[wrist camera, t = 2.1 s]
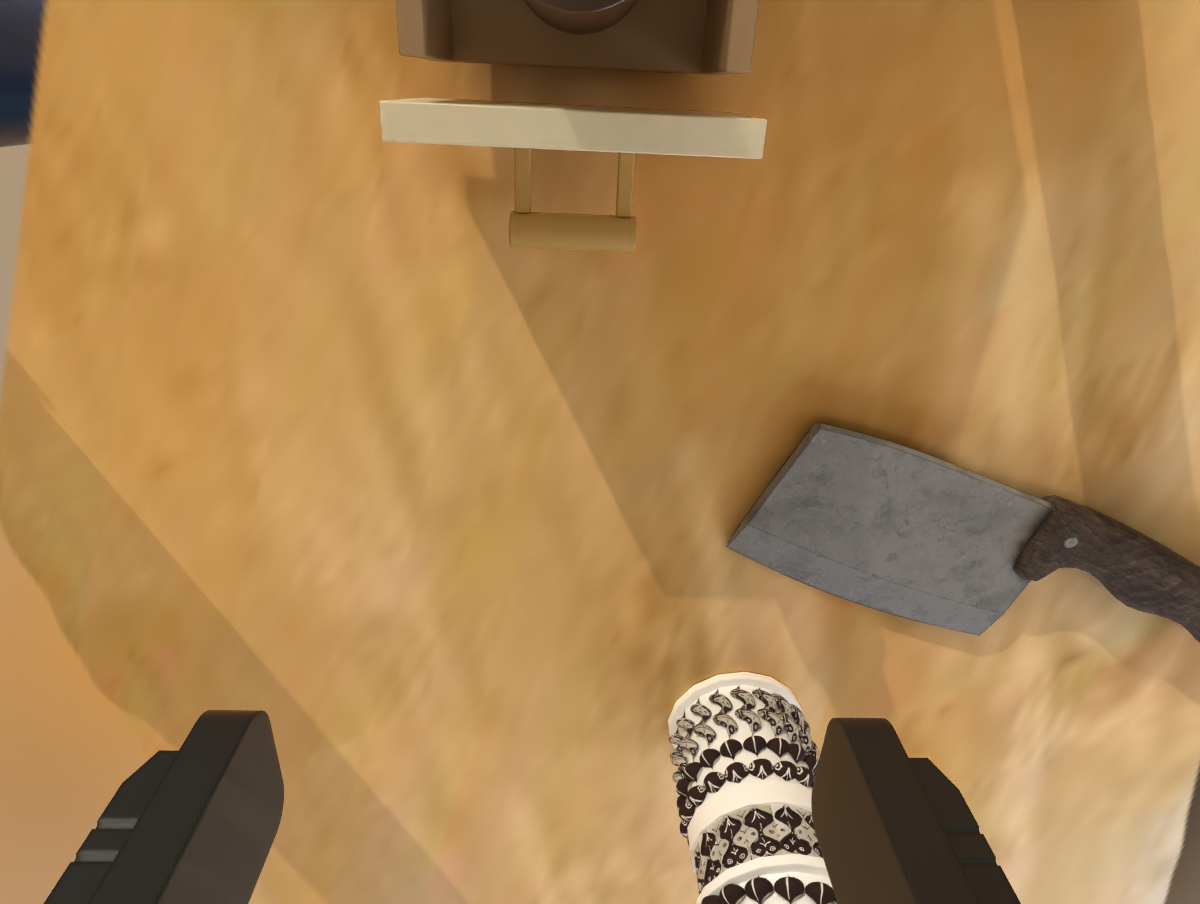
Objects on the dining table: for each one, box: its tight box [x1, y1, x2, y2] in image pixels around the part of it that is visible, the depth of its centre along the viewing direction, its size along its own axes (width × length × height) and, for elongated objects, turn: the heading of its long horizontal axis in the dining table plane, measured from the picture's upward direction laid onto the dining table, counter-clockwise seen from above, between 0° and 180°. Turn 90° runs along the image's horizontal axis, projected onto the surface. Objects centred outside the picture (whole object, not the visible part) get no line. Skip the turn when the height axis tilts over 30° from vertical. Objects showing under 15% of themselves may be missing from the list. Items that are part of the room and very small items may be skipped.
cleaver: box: [727, 422, 1200, 642], centre depth 40 cm, size 29×10×2 cm, turn 70°
